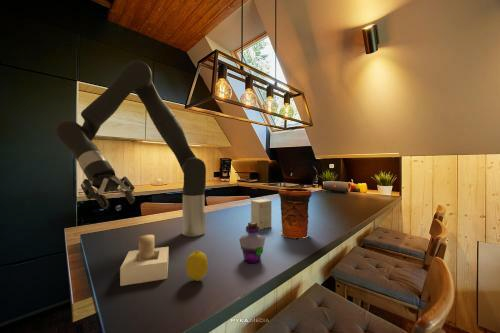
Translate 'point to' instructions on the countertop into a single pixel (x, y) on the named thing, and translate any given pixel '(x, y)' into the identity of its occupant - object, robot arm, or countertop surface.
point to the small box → (261, 213)
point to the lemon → (197, 265)
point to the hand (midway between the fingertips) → (120, 204)
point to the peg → (146, 247)
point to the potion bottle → (252, 244)
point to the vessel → (294, 211)
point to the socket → (144, 267)
